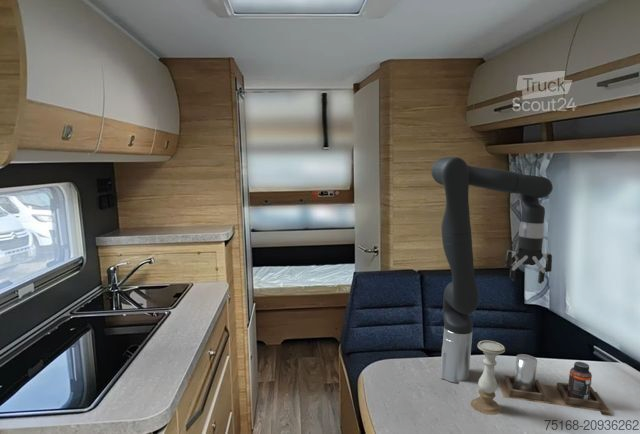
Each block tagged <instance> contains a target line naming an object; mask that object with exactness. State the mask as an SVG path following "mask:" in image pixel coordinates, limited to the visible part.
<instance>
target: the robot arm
mask: <svg viewBox="0 0 640 434" xmlns="http://www.w3.org/2000/svg"><path fill="white" fill-rule="evenodd" d="M430 173H431V176H432V179H433V180H434V181H435V182H436V183H437V184H439V185H442V186H443V189H444V192H445V193H444V194H445V209H444V213H443V217H442V221H441V229H440V230H441V239H442V247H443V252H444V255H445V257H446V260H447V262H448V263H447V264H448V265H449V269H450V271H451V277H452V281H451V282H449V283H448V284H447V285H446V287H445V288H444V291H443V297H442V298H443V299H442V300H443V301H442V318H443V323H444V324H443V325H444V326H443V337H442V338H443V339H442V344H441V345H442V346H441V358H440V361H441V362H440V379H442V380H446V381H448V382H450V383H454V384H455V383H456V384H459V383H460V382H463V381H467V380H468V379H469V377H470V365H471V356H472V355H471V353H472V342H473V341H472V340H473V331H474V330H473V328H474V324H473V320H472V319H471V315H470V314H472V313H473V312H475V311H476V309H477V308H478V305H479V302H480V301H479V300H480V298H479V297H480V295H479V290H478V286H477V281H476V276H475V275H476V274H475V267H474V265H475V264H474V251H473V238H472V237H473V236H472V227H471V225H472V224H471V219H470V218H471V216H470V215H471V214H470V205H469V203H470V202H469V191H470V189H469V186H474V187H478V188H483V189H487V190H491V191H496V192H502V193H507V194H517V195H519V200H520V205H521V217H520V224H519V229H518V239H517V247H516V248H517V249H516V250H515V251H513V250H510V249H507V250H506V256H505V262H504V266H505V267H506V269H509V278H510V280H511V281H512V282H515V281H516V270H517V269H518V268H519V267H520V266H521V265H525V266H535V265H536V267H537V269H539V271H538V278H537V283H538V284H543V283H544V281H545V274H546V273H549V272H552V265H553V264H552V263H553V262H552V261H553V255H552V254H551V253H549V252H546V253H543V241H544V234H545V233H544V232H545V217H546V212H545V211H546V209H545V207H544V206H543V205H541V203H540V200H539V199H544V198H547V197H548V196H549V195H550V194H551V193H552V192H553V187H554V186H553V183H552V181H551V180H550V179H549V178H547V177H544V176H540V175H532V174H523V173H520V172H515V171H509V170H505V169H504V170H503V169H499V168H497V169H496V168H487V167H479V166H478V167H477V166H473V165H472V166H471V165H468V164H467V162H466V161H465V160H464V159H463V158H461V157H457V156H453V157H452V156H444V157H441V158H438V160H437V159H436V161H434V163H433V164H432V166H431V172H430ZM515 255H516V257H517V258H516V259H515V261H514V262H513V263H512V264H511V262H512V258H514V256H515ZM542 259H544V260H545V267H544V266H543V265H542V263H541V262H540V261H541V260H542Z"/></svg>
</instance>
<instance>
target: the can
mask: <svg viewBox="0 0 640 434" xmlns="http://www.w3.org/2000/svg"><path fill="white" fill-rule="evenodd" d="M514 368H515V370H514V376H515V377H514V387H513V389H515V390H522V391H529V392H534V387H535V379H536V377H537V368H538V359H537V358H536V357H535V356H533V355H529V354H524V353H519V354H517V355H516V357H515V367H514Z"/></svg>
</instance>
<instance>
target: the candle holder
mask: <svg viewBox="0 0 640 434" xmlns="http://www.w3.org/2000/svg"><path fill="white" fill-rule="evenodd" d="M476 346H477V348H478V349H479V350H480V351H482V353H483V354H484V358H483V360H482V362H483V363H484V366H483V372H482V374H481V376H480V377H479V379H478V382H477V385H478V388H479V389H478V394H479V396H478V397H476V398H473V399H472V400H471V401H470V407H471V408H472V409H474V411H477V412H479V413H480V414H484V415H487V416H488V415H489V416H494V415H495V416H496V415H498V414H501V413H502V407H501V406H500V405H499V404H498V402H497V401H496V400H494V399H495V398H496V393H495V392H496V391H497V389H498V387H499V385H498V380H497V379H496V375H495V366H497V361H496V357H498V356H499V355H501V354H503V353H505V352H506V347H505V346H504V345H503V344H501V343H500V342H497V341H494V340H481V341H478V343H477V345H476Z"/></svg>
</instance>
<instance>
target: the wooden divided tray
mask: <svg viewBox="0 0 640 434" xmlns="http://www.w3.org/2000/svg"><path fill="white" fill-rule="evenodd" d="M514 377H515V375H514V376H513V375H506V374H504V378H497V383H498V384H499V385H498V386H499V387H500V391H501V394H502V397H503V398H507V399H514V400H521V401H526V402H533V403H540V404H547V405H555V406H561V407H567V408H575V409H581V410H582V409H583V410H588V411H589V410H590V411H596V412H600V414H601V415H602V416H603V415H604V416H612V415H611V414H612V412H611V410H610V409H609V408H608V406H607V404H606V403H605V402H604V401H603V399H602V398H601V397H600V395H599V393H598V392H597V391H595V390H594V389H593V387H592V386H591V388H590V396H589V400H586V399H578V398H571V397H569V396H568V383H565V382H558V381H557V383H556V386H554V385H548V384H541V383H540V382H539V380H538V379H536V378H535V387H534V392H529V391H522V390H515V389H513V387H514Z"/></svg>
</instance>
